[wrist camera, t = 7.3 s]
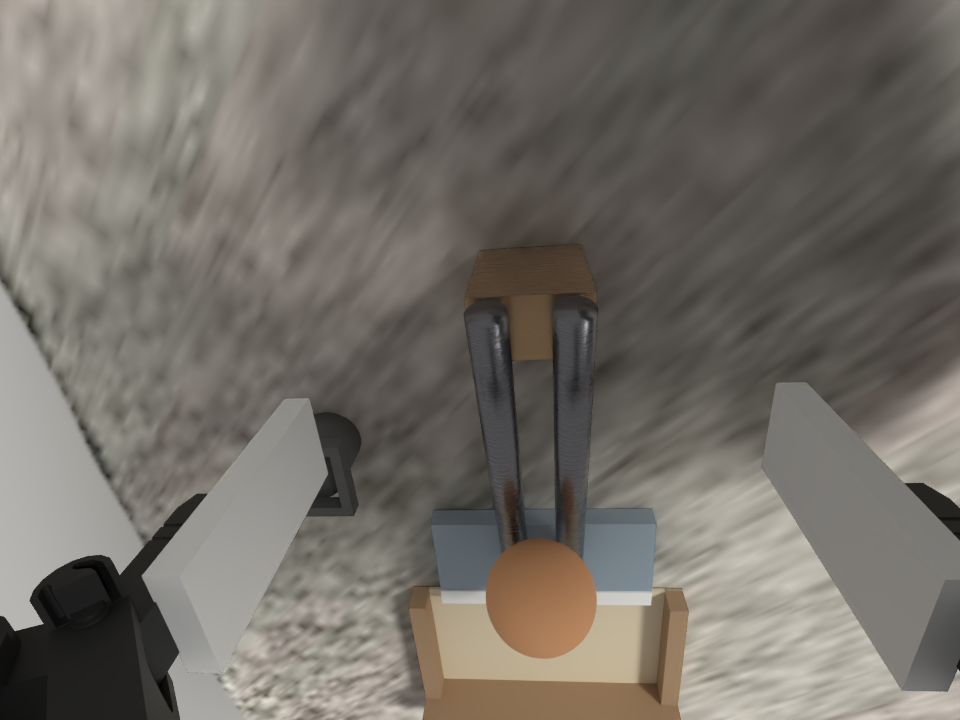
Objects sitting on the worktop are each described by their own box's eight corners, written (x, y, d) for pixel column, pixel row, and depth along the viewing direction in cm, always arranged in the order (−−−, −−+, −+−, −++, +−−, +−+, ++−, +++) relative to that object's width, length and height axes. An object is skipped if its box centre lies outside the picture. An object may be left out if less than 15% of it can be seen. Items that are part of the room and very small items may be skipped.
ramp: (479, 248, 24) (457, 315, 17) (580, 242, 24) (603, 309, 16) (504, 546, 32) (496, 684, 24) (581, 547, 31) (597, 687, 24)
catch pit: (413, 586, 34) (403, 629, 31) (681, 588, 32) (695, 633, 29) (432, 690, 38) (425, 735, 35) (670, 696, 36) (681, 745, 34)
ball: (488, 609, 28) (501, 514, 27) (587, 631, 27) (601, 533, 27) (469, 668, 23) (484, 554, 23) (589, 697, 22) (607, 579, 22)
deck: (434, 510, 31) (430, 526, 30) (652, 508, 30) (657, 525, 28) (445, 586, 33) (442, 604, 32) (646, 588, 32) (650, 606, 31)
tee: (287, 407, 29) (254, 449, 25) (360, 405, 28) (337, 447, 25) (303, 469, 30) (275, 516, 27) (373, 468, 30) (353, 516, 26)
